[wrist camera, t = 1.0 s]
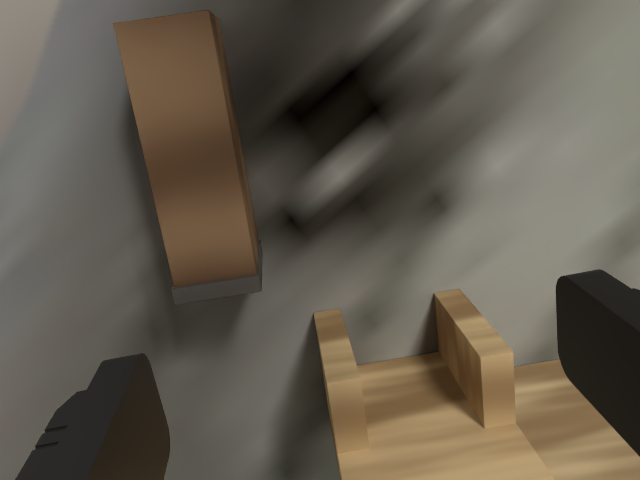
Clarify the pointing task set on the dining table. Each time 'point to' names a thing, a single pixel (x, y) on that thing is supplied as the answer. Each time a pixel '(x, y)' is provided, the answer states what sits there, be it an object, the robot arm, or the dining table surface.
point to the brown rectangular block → (192, 153)
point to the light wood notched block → (462, 410)
